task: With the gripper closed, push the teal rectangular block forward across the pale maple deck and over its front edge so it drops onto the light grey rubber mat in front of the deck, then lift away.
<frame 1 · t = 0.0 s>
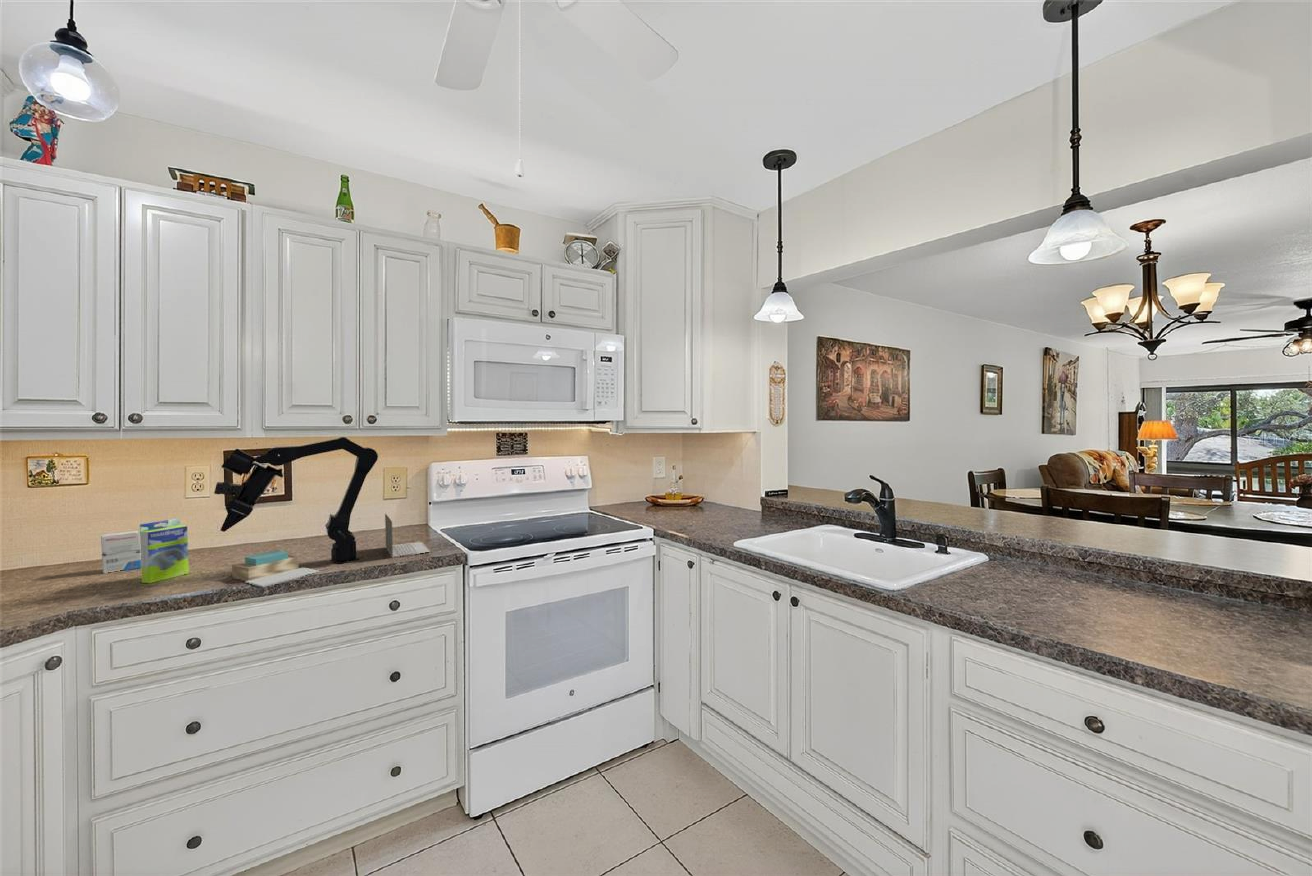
hand: (223, 528, 158), 15 cm above the worktop, tool tilted 35°, fingers open, 9 cm apart
box: (166, 578, 158), on the worktop
laptop: (407, 551, 191), on the worktop
mat: (283, 577, 158), on the worktop
ink box: (122, 570, 167), on the worktop
teal rectangular block: (267, 561, 162), point 4 cm above the worktop, touching deck
deck: (266, 573, 162), on the worktop
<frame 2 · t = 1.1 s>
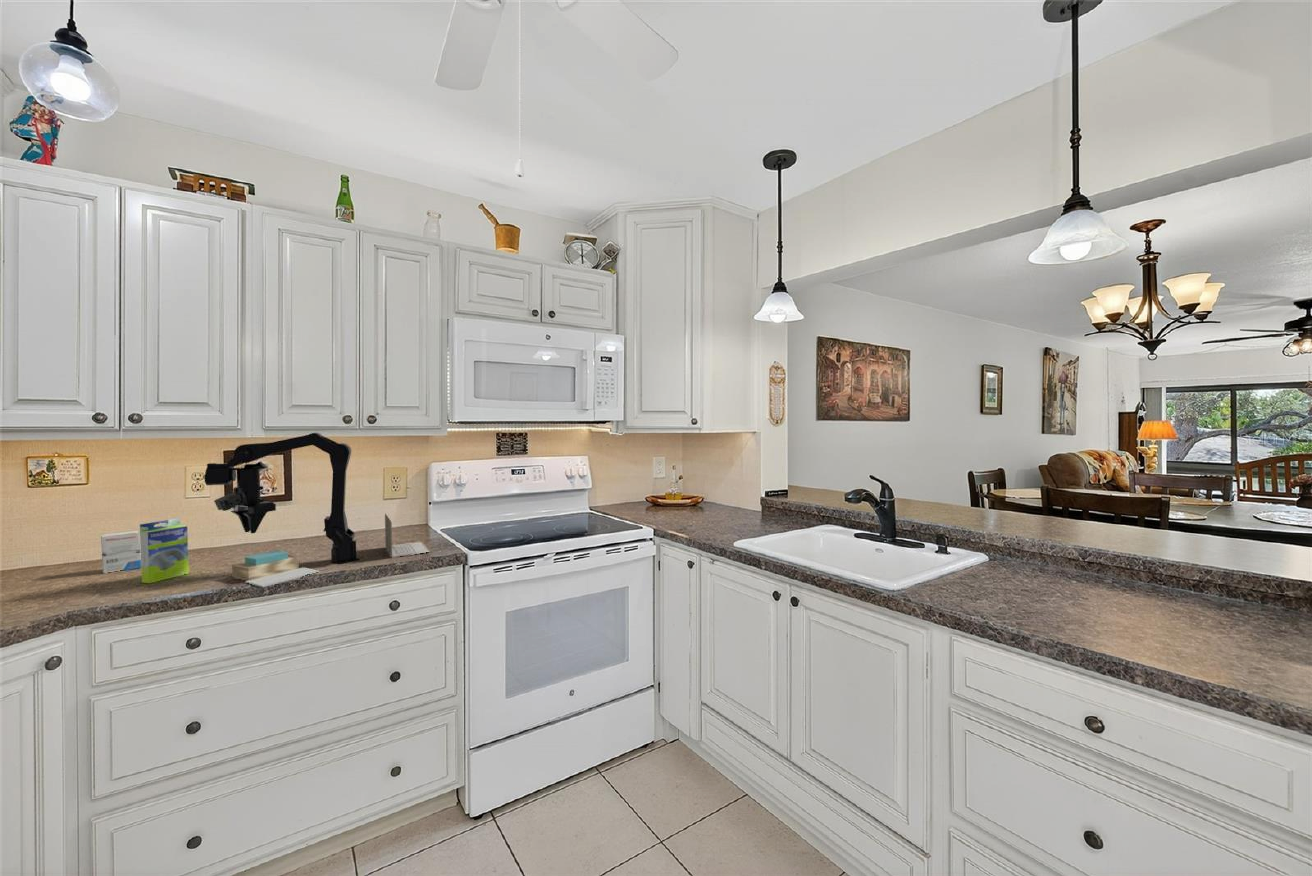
hand: (250, 532, 166), 12 cm above the worktop, tool pointing down, fingers open, 3 cm apart
nothing on the worktop moved.
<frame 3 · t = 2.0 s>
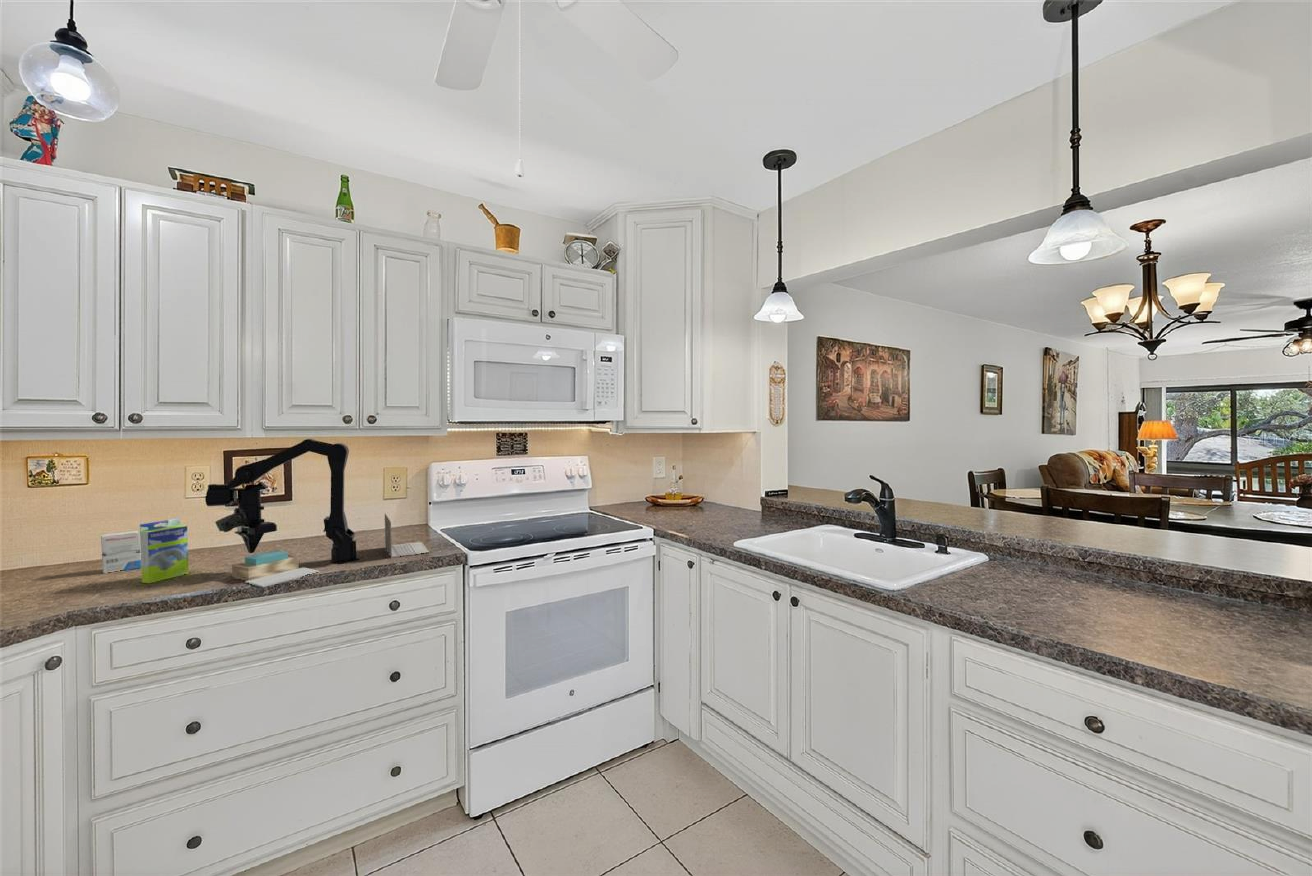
hand: (251, 552, 166), 6 cm above the worktop, tool pointing down, fingers closed
nothing on the worktop moved.
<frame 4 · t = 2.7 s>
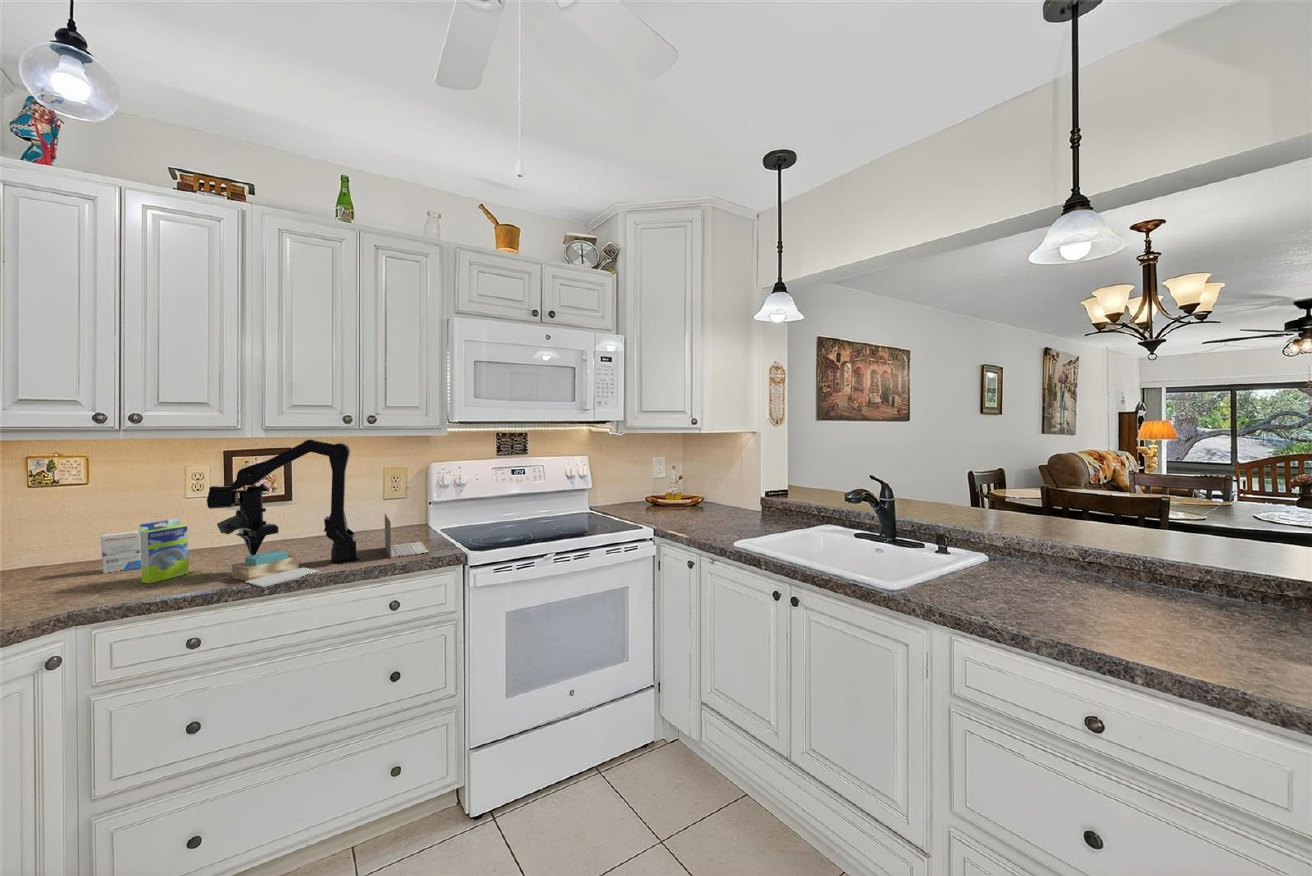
hand: (253, 554, 166), 5 cm above the worktop, tool pointing down, fingers closed
nothing on the worktop moved.
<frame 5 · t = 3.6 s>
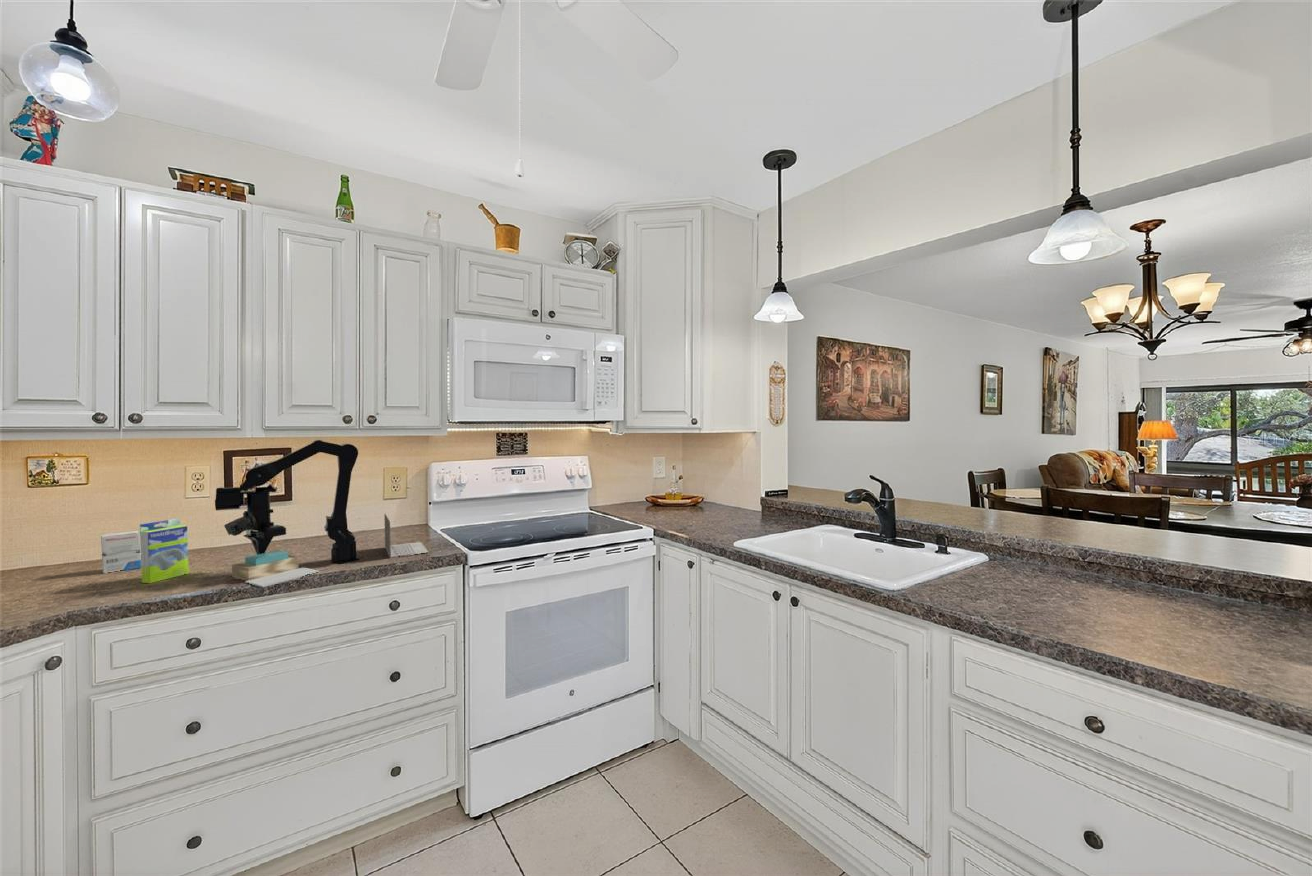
hand: (260, 556, 164), 5 cm above the worktop, tool pointing down, fingers closed
teal rectangular block: (267, 561, 162), point 4 cm above the worktop, touching deck, gripper
everything else where it was.
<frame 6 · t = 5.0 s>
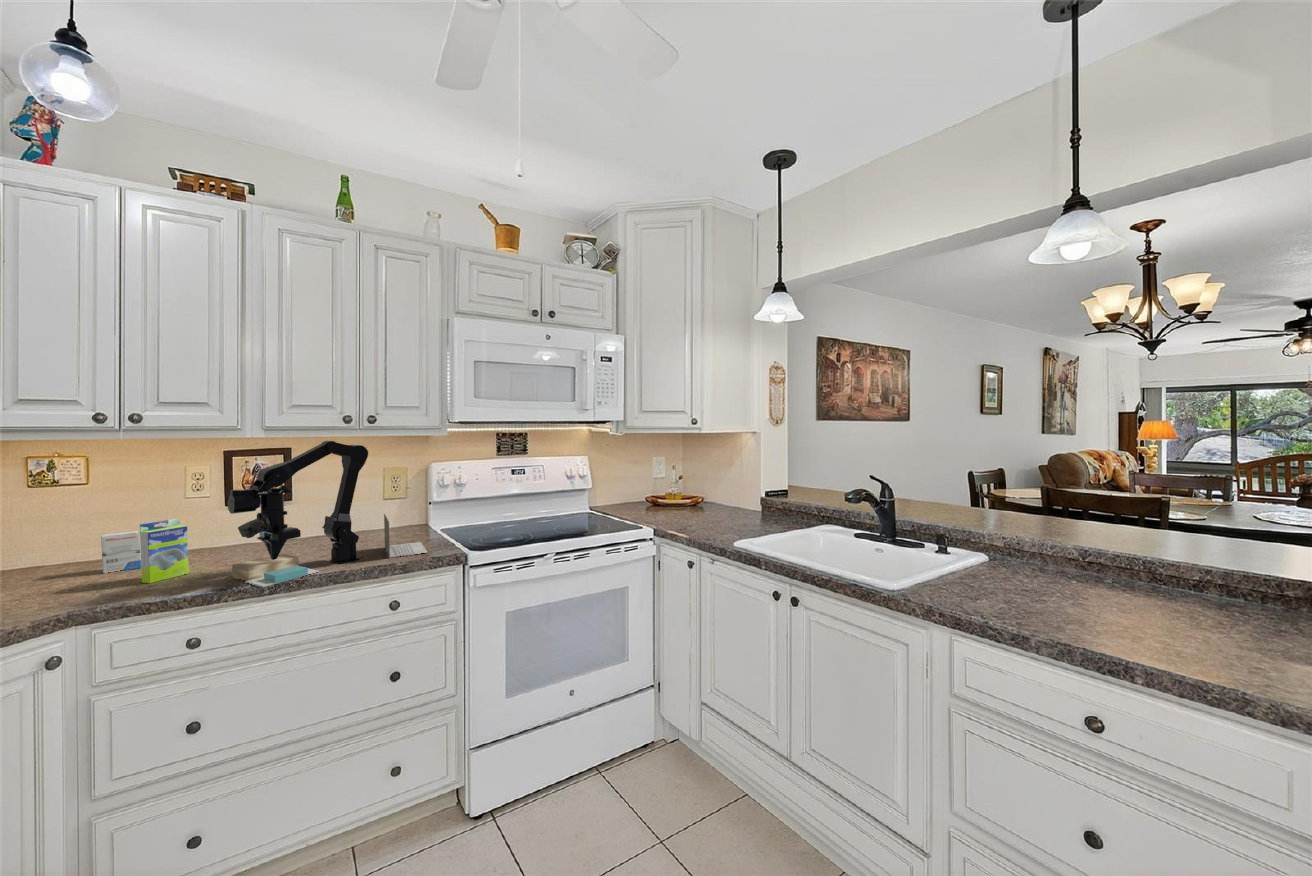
hand: (274, 559, 160), 5 cm above the worktop, tool pointing down, fingers closed
teal rectangular block: (286, 570, 157), point 2 cm above the worktop, tilted 180°, touching mat
everything else where it was.
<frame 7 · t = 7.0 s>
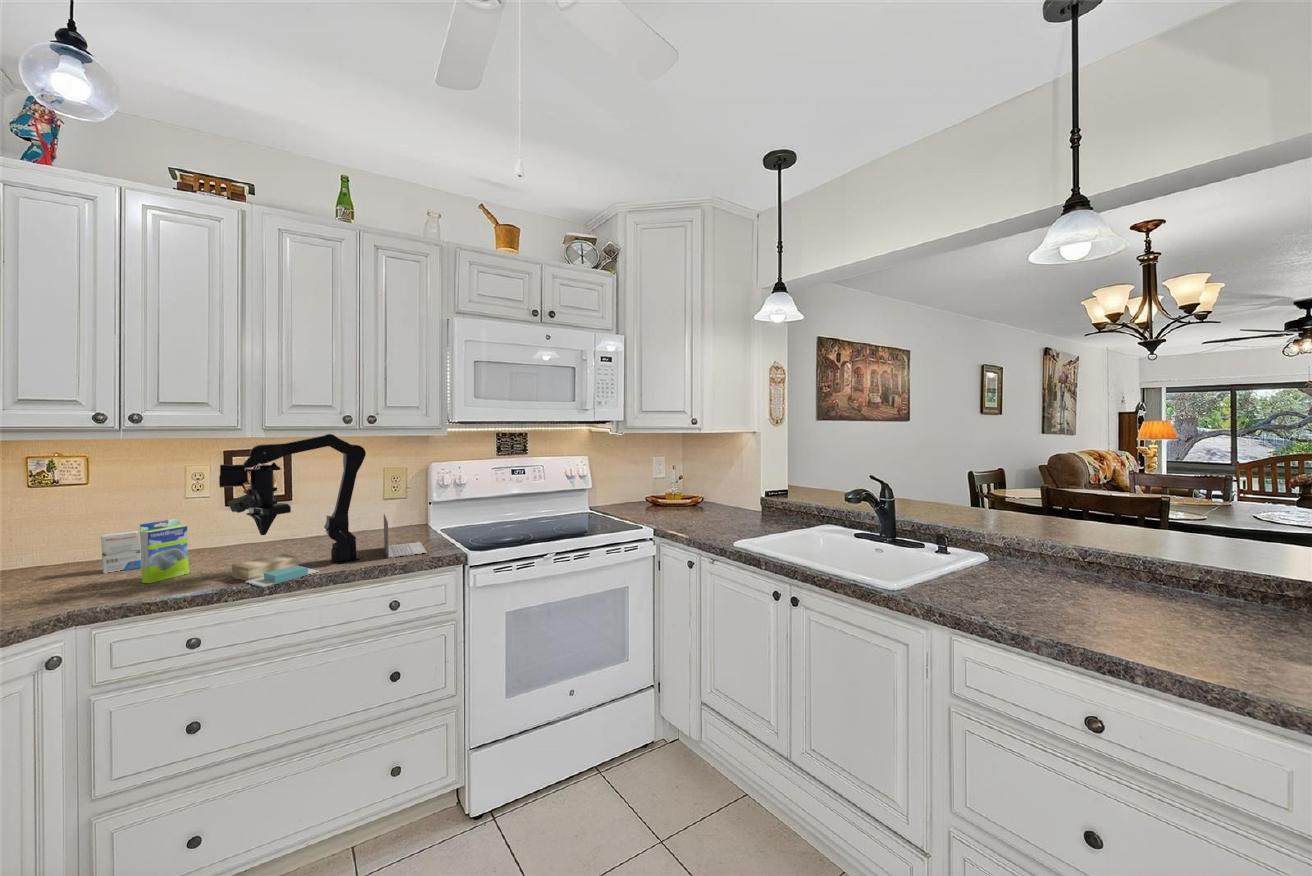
hand: (263, 535, 163), 12 cm above the worktop, tool pointing down, fingers closed
nothing on the worktop moved.
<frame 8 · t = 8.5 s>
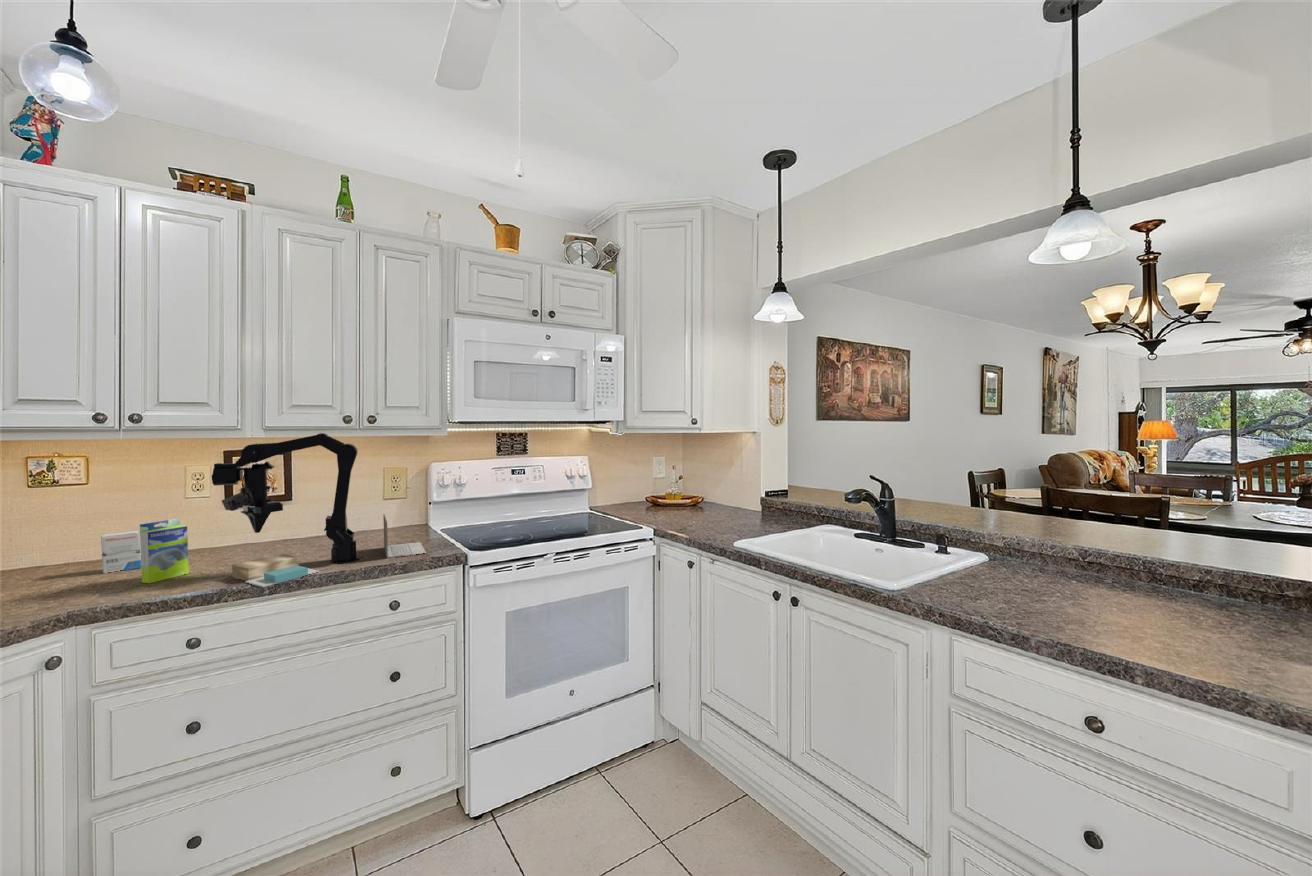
hand: (257, 532, 166), 12 cm above the worktop, tool pointing down, fingers closed
at the end: teal rectangular block point 2.5 cm above the worktop; teal rectangular block inside the target area (1.7 cm from its centre), point 2.5 cm above the worktop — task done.
